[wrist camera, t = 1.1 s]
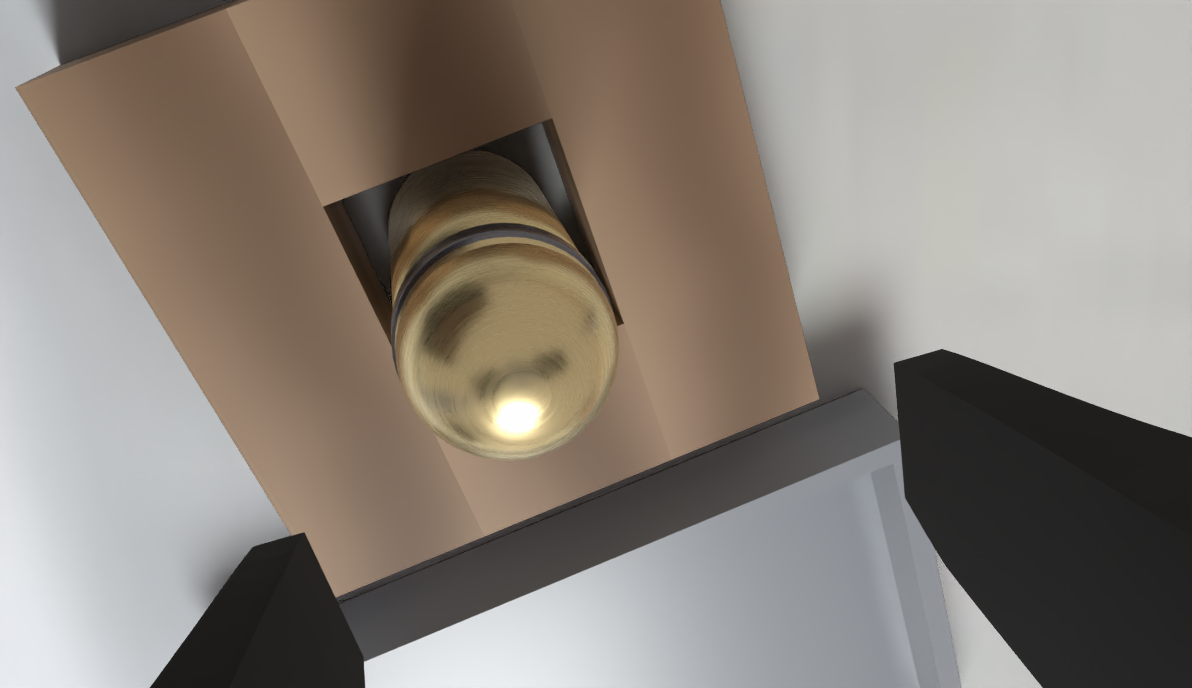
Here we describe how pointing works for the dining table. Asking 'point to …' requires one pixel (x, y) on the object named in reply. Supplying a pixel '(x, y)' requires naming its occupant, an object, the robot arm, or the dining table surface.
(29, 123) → the dining table surface
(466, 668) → the tray
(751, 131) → the holder block
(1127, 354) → the dining table surface
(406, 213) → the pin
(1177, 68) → the dining table surface
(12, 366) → the dining table surface
